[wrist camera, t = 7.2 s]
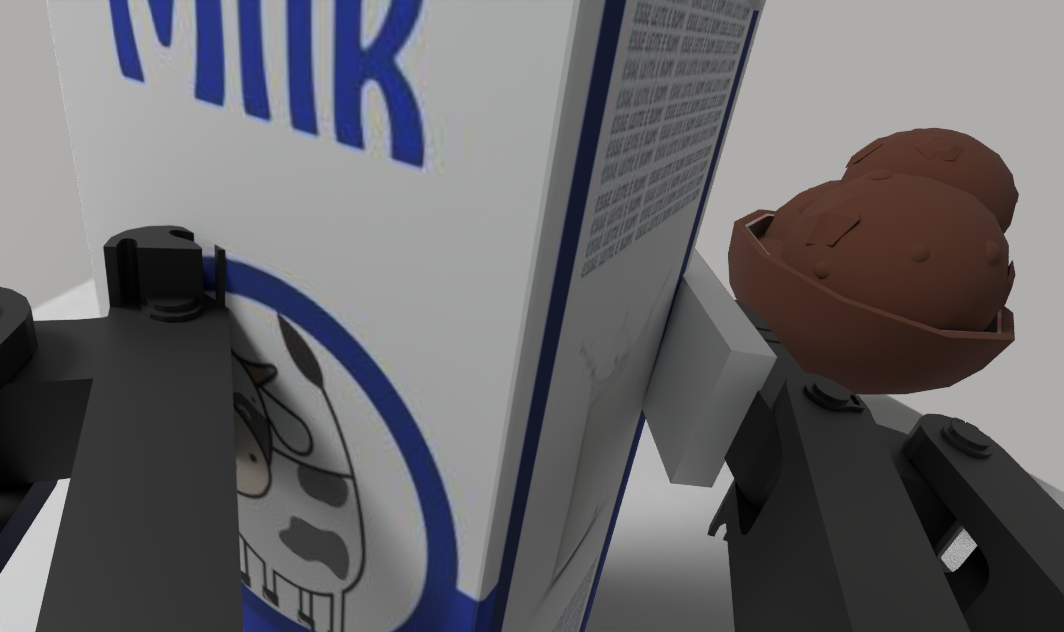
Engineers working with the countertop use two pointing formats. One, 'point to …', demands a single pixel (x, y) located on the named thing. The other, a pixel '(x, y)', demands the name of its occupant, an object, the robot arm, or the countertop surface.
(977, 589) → the robot arm
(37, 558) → the countertop surface
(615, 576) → the countertop surface
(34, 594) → the countertop surface
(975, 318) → the ice cream bowl
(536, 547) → the milk carton
